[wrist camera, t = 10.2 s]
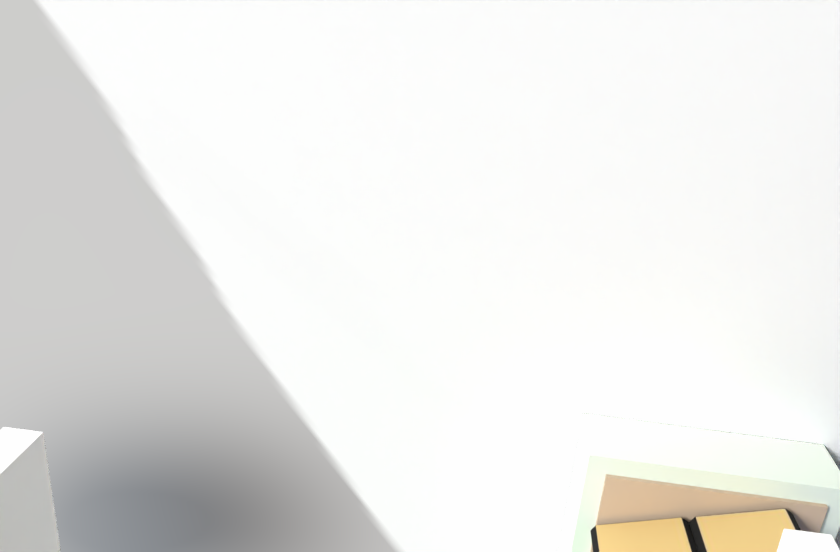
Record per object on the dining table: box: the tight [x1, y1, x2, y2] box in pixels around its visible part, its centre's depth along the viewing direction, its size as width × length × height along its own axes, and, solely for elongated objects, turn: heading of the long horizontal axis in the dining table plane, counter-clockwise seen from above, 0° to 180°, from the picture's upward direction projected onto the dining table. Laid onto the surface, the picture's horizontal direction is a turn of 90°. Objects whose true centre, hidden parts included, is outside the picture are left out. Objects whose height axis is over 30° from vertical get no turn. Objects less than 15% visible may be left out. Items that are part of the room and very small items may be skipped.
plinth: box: [558, 413, 840, 552], centre depth 43 cm, size 13×13×4 cm
